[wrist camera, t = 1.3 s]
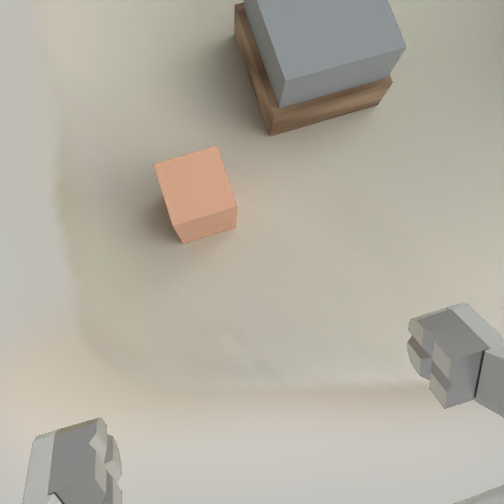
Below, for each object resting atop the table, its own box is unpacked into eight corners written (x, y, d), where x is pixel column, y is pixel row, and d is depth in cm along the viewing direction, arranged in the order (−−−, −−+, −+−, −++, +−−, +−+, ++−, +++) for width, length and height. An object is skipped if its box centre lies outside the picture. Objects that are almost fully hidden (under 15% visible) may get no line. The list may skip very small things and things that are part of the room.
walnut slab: (234, 36, 45) (234, 5, 40) (338, 8, 46) (349, -26, 41) (269, 137, 43) (274, 116, 39) (376, 106, 44) (392, 82, 40)
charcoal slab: (243, 7, 40) (245, -33, 36) (348, -20, 41) (362, -62, 37) (279, 108, 39) (285, 80, 34) (386, 78, 40) (406, 47, 35)
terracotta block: (167, 192, 42) (153, 164, 34) (219, 177, 42) (216, 145, 35) (183, 244, 41) (172, 225, 33) (235, 227, 41) (237, 206, 34)
